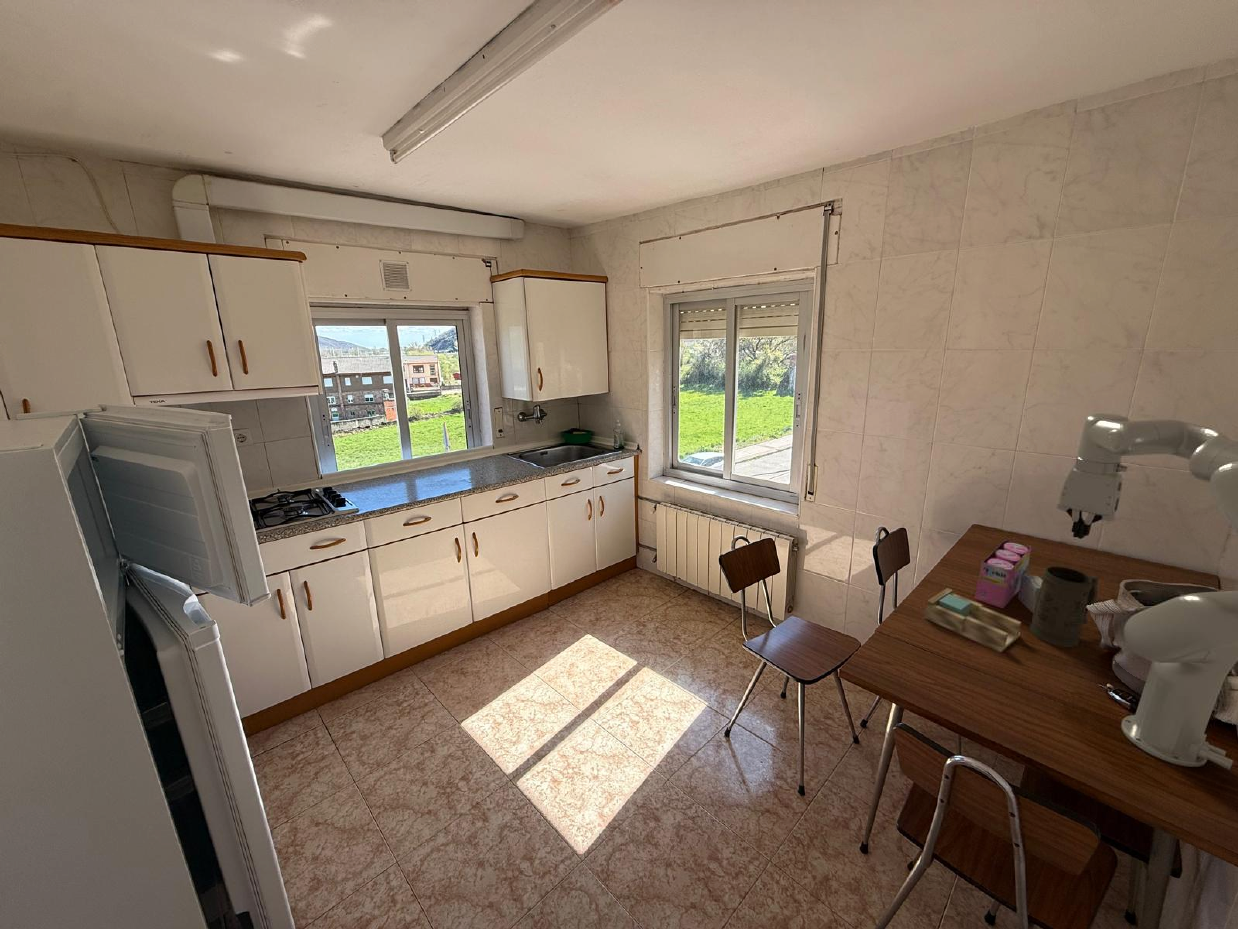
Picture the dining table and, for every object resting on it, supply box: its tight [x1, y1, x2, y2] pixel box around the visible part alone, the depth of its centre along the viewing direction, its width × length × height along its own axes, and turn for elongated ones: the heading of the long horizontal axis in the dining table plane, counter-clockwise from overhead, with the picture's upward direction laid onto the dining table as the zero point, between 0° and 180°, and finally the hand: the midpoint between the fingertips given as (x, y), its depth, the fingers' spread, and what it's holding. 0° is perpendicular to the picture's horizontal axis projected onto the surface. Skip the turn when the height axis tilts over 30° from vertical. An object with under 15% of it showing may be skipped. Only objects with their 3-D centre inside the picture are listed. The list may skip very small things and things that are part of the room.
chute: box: [924, 587, 1022, 653], centre depth 145 cm, size 20×12×6 cm, turn 33°
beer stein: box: [1029, 566, 1099, 648], centre depth 139 cm, size 15×11×20 cm
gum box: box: [974, 539, 1032, 609], centre depth 162 cm, size 24×8×14 cm, turn 128°
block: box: [938, 594, 971, 617], centre depth 149 cm, size 6×6×5 cm
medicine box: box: [1017, 574, 1043, 613], centre depth 153 cm, size 8×4×9 cm, turn 168°
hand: (1079, 536), depth 123 cm, fingers closed
